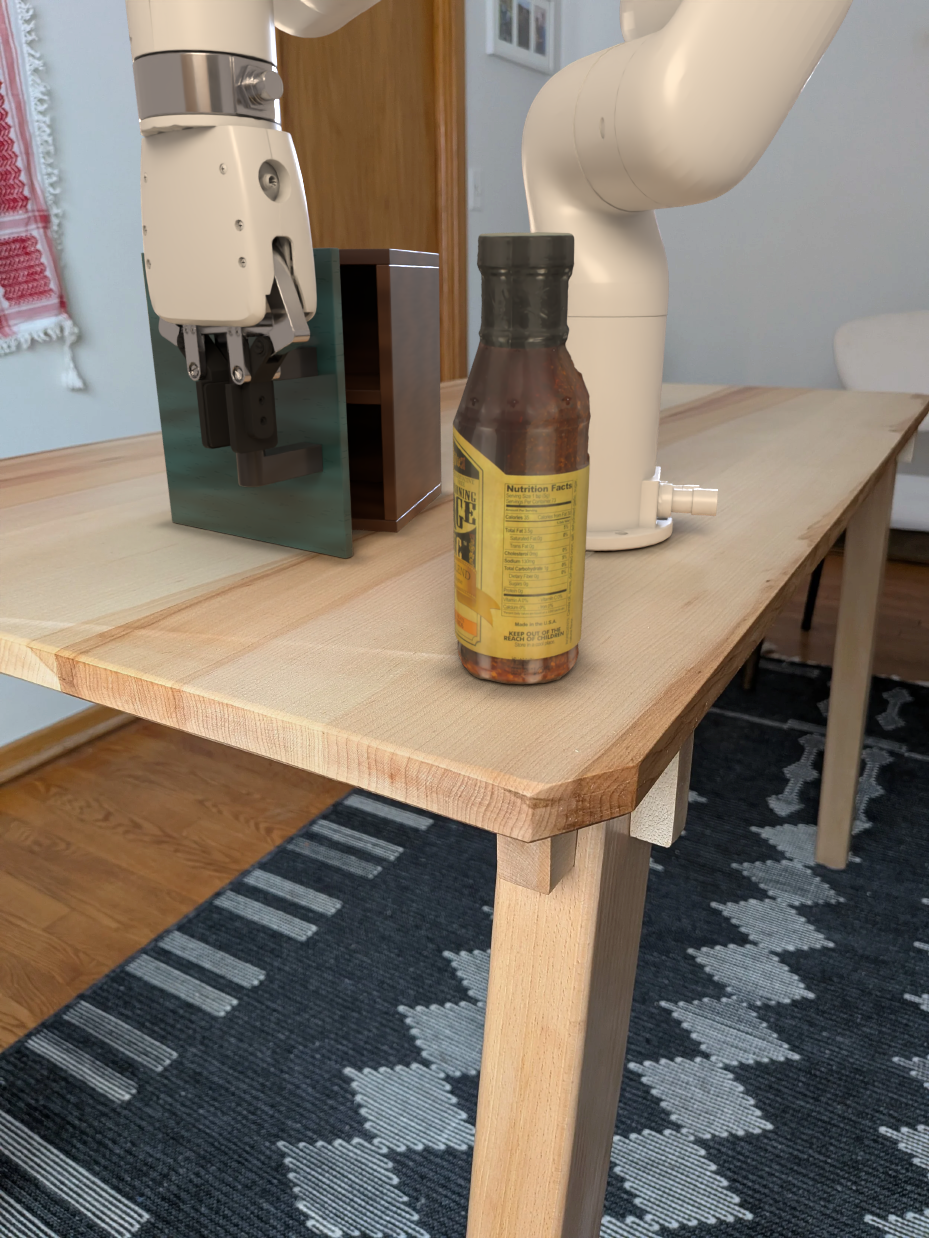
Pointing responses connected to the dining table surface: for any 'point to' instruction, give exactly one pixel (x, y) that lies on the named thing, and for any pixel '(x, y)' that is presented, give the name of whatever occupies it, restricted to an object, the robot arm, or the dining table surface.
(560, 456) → the sauce bottle
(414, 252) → the cupboard
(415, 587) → the dining table surface
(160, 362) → the cupboard door
